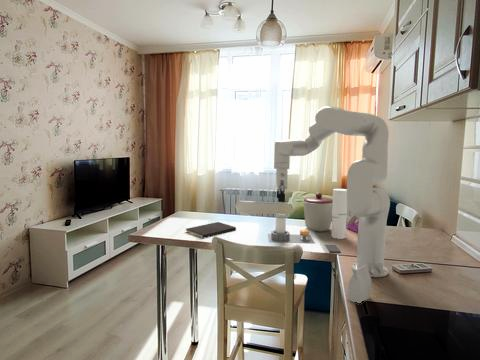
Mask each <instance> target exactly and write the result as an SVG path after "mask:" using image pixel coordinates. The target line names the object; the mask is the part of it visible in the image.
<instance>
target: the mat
mask: <svg viewBox="0 0 480 360" xmlns="http://www.w3.org/2000/svg"><path fill="white" fill-rule="evenodd" d="M324 246H325V248H326V249H327V251H328V252H329V253H333V254H334V253H337V254H339V253H340V254H341V253H342V252H341V250H340V248H338V246H337V245H336V244H324Z"/></svg>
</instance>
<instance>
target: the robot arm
mask: <svg viewBox="0 0 480 360" xmlns="http://www.w3.org/2000/svg"><path fill="white" fill-rule="evenodd" d="M314 118H315V119H314V120H315V121H313V123H311V124H310V125H309V126H308V133H309V135H308V136H307V137H305V138H303V139H287V140H284V139H283V140H282V139H280V140H279V139H278V140H276V141H274V152H273V153H274V155H273V169H276V172H275V176H276V177H275V182H276V183H275V184H276V189H277V190H276V198H277V202H278V203H285V202H286V190H288V189H289V188H288V170H289V169H290V162H291V161H290V160H291V157H302V156H307V155H308V154H311V153H313V152H314V151H316V150H317V149H318V148H319V147H320V146H321V144H322V142H323V141H324V140H326V139H327V138H329V137H330V136H332V135H333V134H336V133H338V134H341V135H345V136H355V137H357V136H358V137H359V136H360V137H365V139H364V142H363V144H362V145H363V146H362V150H361V151H362V154H361V159H358V160H355V161H353V163H351V164H350V166H349V167H348V171H347V175H346V189H347V206H348V209H349V211H350V212H351V213H352V214H353V215H354V216H357V217H360V219H359V225H358V233H357V245H356V246H357V248H356V262H354V263H353V264H352V265H351V268H352V271H354V270H356V269H358V268H360V267H362V266H365V265H367V269H368V272H369V274H370V277H371V278H383V277H385V276H388V274H389V270H388V269H387V268H388V267H385V266H384V265H385V249H386V234H387V220H388V216H389V212H390V207H391V200H390V196H389V195H388V194H387V192H386V191H385V190H383V189H381V188H379V187H378V188H377V187H374V186H375V185H380V184H383V182H385V181H386V179H387V176H388V159H389V158H388V157H389V151H388V149H389V137H390V136H389V135H390V134H389V126H388V125H387V123H386V121H385V120H384V119H383V118H381V117H380V116H378V115H376V114H372V113H366V112H358V111H350V110H345V108H342V107H336V106H330V105H329V106H328V105H326V106H323V107H320V109H318V110H317V112H316V114H315V116H314Z"/></svg>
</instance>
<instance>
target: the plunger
mask: <svg viewBox="0 0 480 360" xmlns="http://www.w3.org/2000/svg"><path fill="white" fill-rule="evenodd" d="M299 235H301V236H303V238H302V240H307V238H306V236H309V235H310V230H309V229H300V230H299Z"/></svg>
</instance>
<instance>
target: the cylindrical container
mask: <svg viewBox="0 0 480 360" xmlns="http://www.w3.org/2000/svg"><path fill="white" fill-rule="evenodd" d="M332 190H333V191H332V200H333V208H332V220H331V235H330V236H332V237H331V238H333V239H336V238H337V239H339V240H342V239H344V240H345V239H346V237H347V236H346V235H347V228H346V219H347V188H333V189H332Z"/></svg>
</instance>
